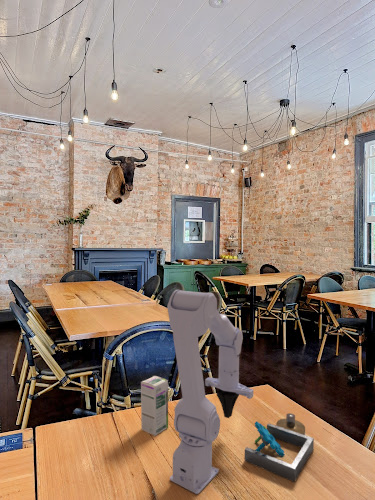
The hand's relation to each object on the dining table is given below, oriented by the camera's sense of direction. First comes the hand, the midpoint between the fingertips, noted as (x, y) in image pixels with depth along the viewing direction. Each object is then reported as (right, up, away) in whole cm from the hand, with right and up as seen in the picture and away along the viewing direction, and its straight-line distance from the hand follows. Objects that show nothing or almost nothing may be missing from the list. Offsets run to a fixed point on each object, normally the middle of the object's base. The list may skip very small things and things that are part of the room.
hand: (228, 416), depth 98 cm
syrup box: (-21, -6, +3) cm, 22 cm away
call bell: (+18, -6, +2) cm, 19 cm away
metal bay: (+13, -6, -9) cm, 16 cm away
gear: (+10, -6, -7) cm, 14 cm away
